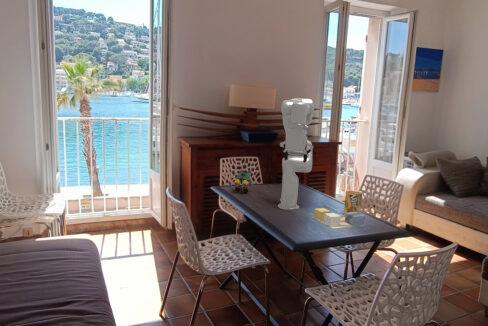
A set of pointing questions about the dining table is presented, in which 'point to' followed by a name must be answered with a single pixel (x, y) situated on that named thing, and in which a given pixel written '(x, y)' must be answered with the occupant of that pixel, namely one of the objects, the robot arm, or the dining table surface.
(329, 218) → the cream block
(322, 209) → the mustard block
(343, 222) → the build board
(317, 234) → the dining table surface
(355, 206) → the candy box
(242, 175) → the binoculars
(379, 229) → the dining table surface
